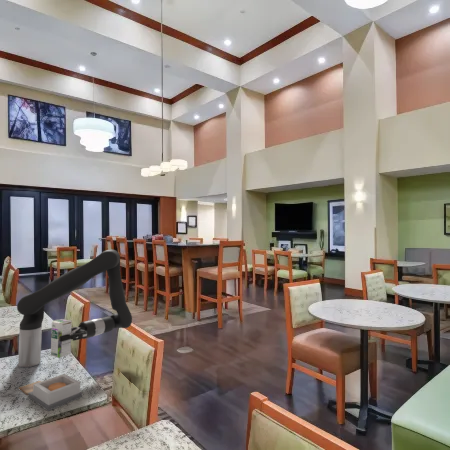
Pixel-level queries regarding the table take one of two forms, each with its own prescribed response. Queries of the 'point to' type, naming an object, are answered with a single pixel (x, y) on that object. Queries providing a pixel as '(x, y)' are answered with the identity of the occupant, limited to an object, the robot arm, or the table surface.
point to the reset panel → (55, 392)
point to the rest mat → (28, 388)
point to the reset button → (56, 386)
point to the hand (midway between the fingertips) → (55, 337)
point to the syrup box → (58, 330)
